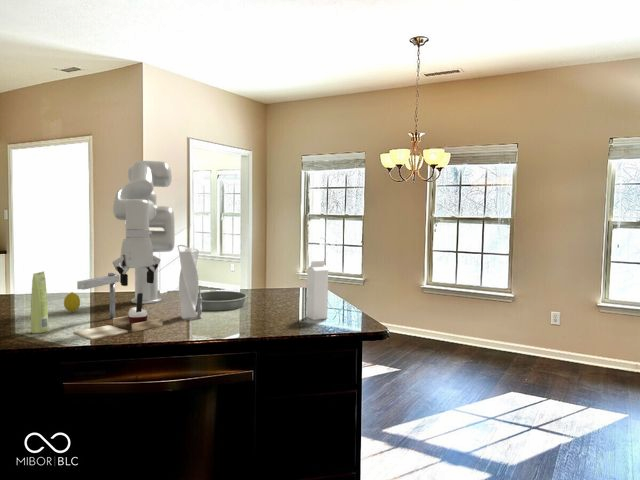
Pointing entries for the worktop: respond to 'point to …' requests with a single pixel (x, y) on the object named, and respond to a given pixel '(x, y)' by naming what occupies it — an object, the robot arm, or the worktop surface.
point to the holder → (138, 325)
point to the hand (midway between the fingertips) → (137, 284)
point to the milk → (317, 290)
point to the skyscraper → (189, 285)
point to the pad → (100, 332)
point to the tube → (39, 304)
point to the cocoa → (137, 312)
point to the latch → (100, 281)
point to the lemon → (72, 302)
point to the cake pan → (222, 300)
